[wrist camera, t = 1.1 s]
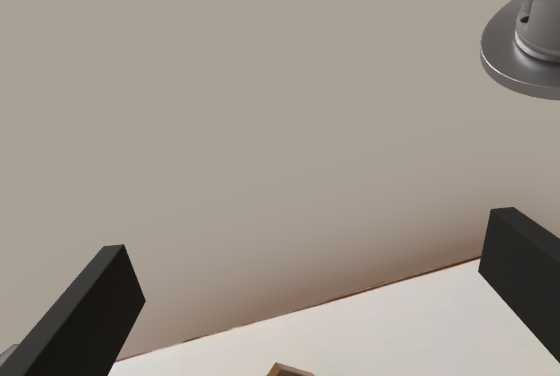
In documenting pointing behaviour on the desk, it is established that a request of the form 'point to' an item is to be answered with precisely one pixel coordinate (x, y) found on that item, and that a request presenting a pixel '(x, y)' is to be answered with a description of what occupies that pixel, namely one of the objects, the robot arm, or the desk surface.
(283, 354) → the desk surface
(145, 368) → the desk surface
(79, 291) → the robot arm
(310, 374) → the wooden drawer casing
